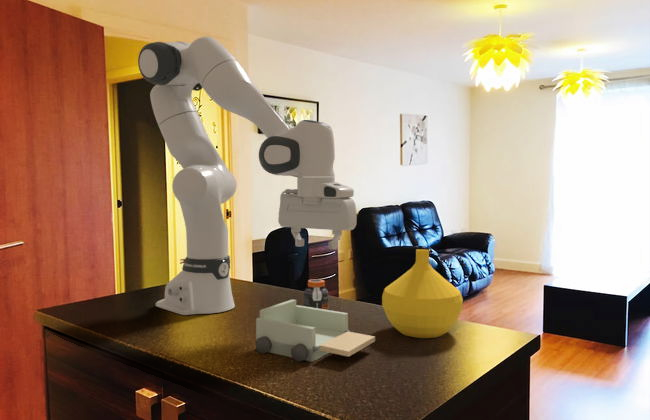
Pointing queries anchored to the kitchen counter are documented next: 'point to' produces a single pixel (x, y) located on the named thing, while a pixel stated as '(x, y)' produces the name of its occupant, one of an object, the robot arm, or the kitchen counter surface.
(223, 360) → the kitchen counter surface
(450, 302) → the vase
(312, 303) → the pill bottle
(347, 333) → the panel
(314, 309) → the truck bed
